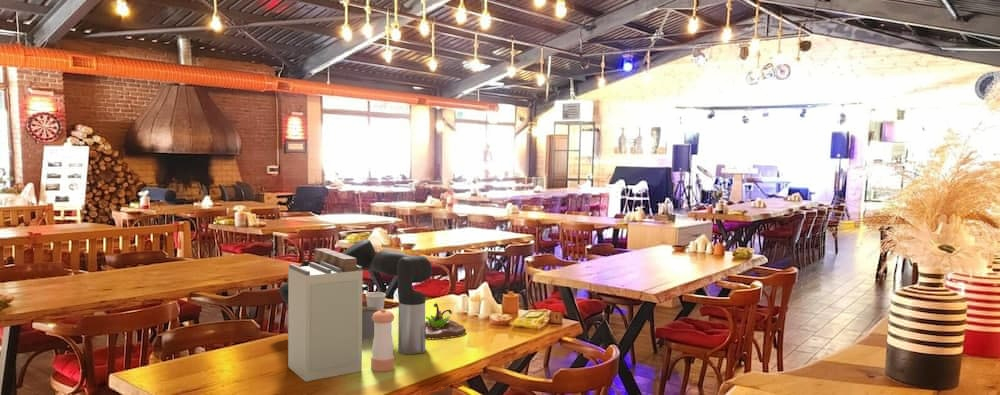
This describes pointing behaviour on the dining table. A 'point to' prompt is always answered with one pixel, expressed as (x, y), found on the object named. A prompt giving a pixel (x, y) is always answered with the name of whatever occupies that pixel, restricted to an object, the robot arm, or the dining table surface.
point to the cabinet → (324, 320)
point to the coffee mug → (368, 322)
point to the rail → (336, 259)
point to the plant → (442, 326)
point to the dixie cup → (375, 300)
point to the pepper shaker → (382, 341)
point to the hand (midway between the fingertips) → (319, 262)
